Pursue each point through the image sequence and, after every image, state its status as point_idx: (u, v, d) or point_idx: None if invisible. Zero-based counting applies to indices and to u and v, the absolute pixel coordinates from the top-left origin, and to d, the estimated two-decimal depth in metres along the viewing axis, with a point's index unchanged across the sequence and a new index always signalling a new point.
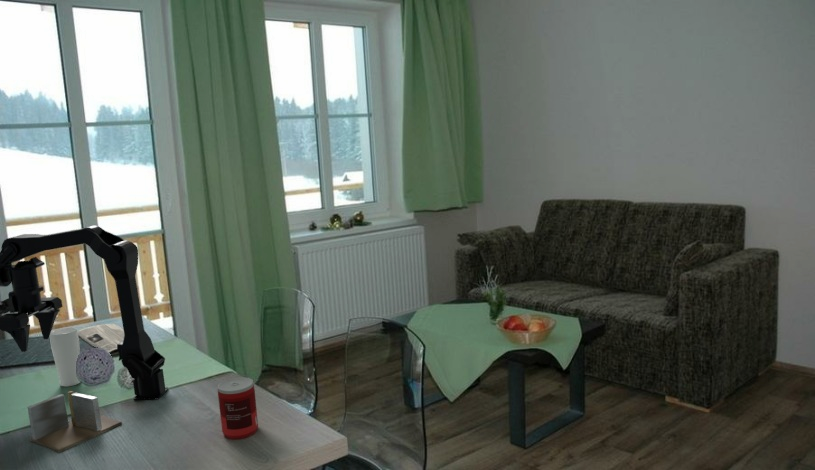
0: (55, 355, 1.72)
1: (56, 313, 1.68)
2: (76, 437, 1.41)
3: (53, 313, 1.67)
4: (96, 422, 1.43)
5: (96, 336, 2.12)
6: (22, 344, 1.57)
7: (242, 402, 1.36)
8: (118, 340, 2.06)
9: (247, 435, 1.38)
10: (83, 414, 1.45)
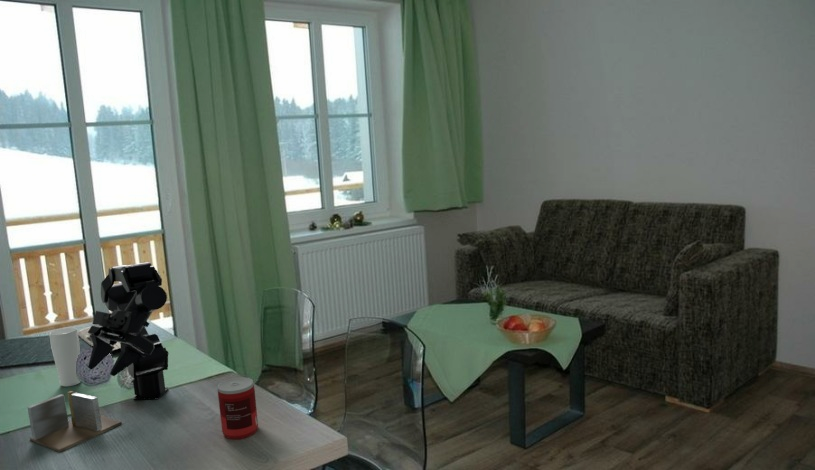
0: (55, 355, 1.72)
1: None
2: (76, 437, 1.41)
3: (113, 348, 1.56)
4: (96, 422, 1.43)
5: None
6: (120, 368, 1.47)
7: (242, 402, 1.36)
8: None
9: (247, 435, 1.38)
10: (83, 414, 1.45)
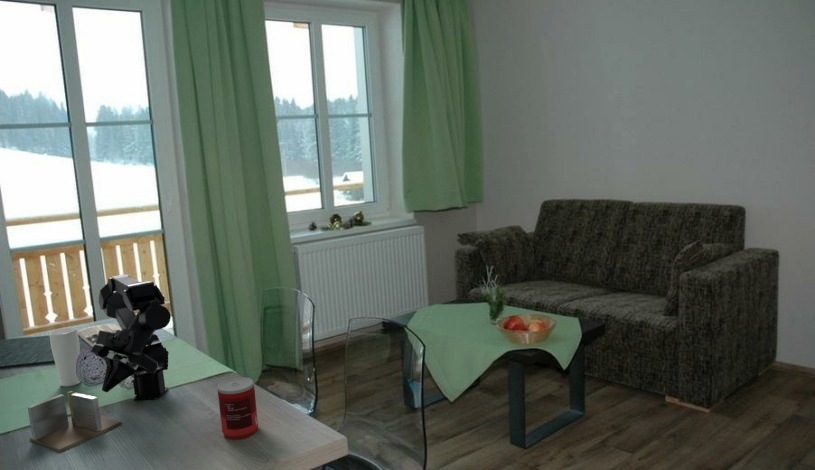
0: (55, 355, 1.72)
1: None
2: (76, 437, 1.41)
3: None
4: (96, 422, 1.43)
5: (95, 336, 2.12)
6: (113, 384, 1.50)
7: (242, 402, 1.36)
8: None
9: (247, 435, 1.38)
10: (83, 414, 1.45)
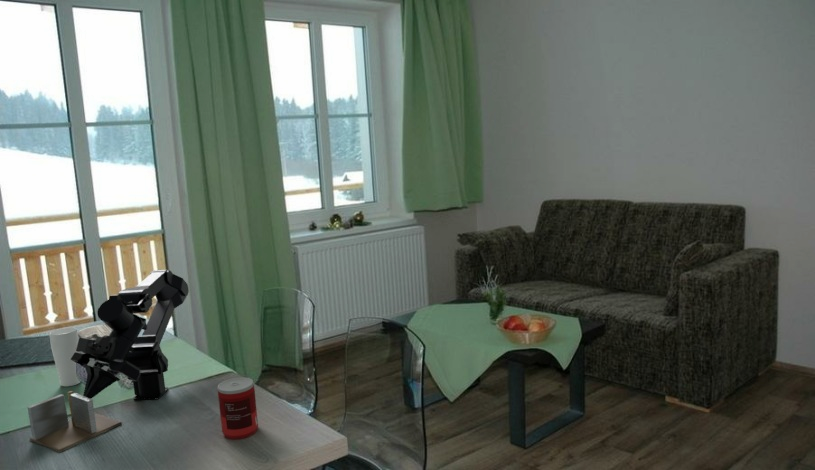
0: (55, 355, 1.72)
1: None
2: (76, 437, 1.41)
3: None
4: (91, 424, 1.42)
5: (94, 336, 2.12)
6: (94, 392, 1.46)
7: (242, 402, 1.36)
8: None
9: (247, 435, 1.38)
10: (80, 415, 1.44)
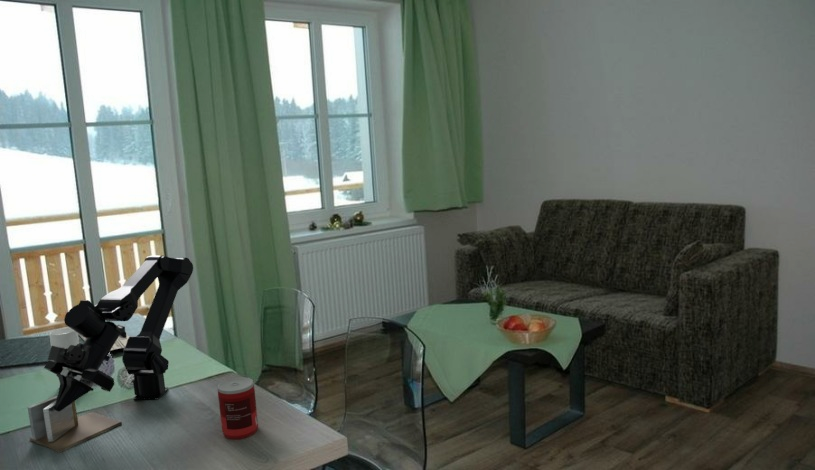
0: None
1: None
2: (76, 437, 1.41)
3: None
4: (47, 433, 1.39)
5: None
6: (66, 403, 1.41)
7: (242, 402, 1.36)
8: None
9: (247, 435, 1.38)
10: None
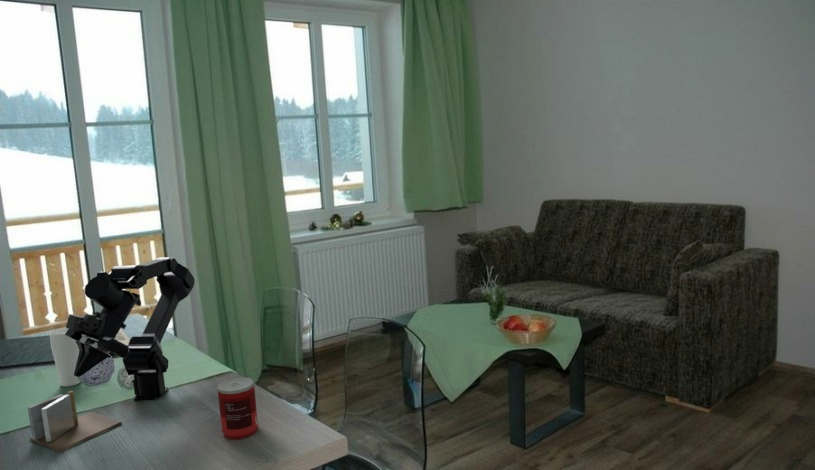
0: (55, 355, 1.72)
1: None
2: (76, 437, 1.41)
3: None
4: (45, 432, 1.39)
5: None
6: (85, 369, 1.46)
7: (242, 402, 1.36)
8: None
9: (247, 435, 1.38)
10: None
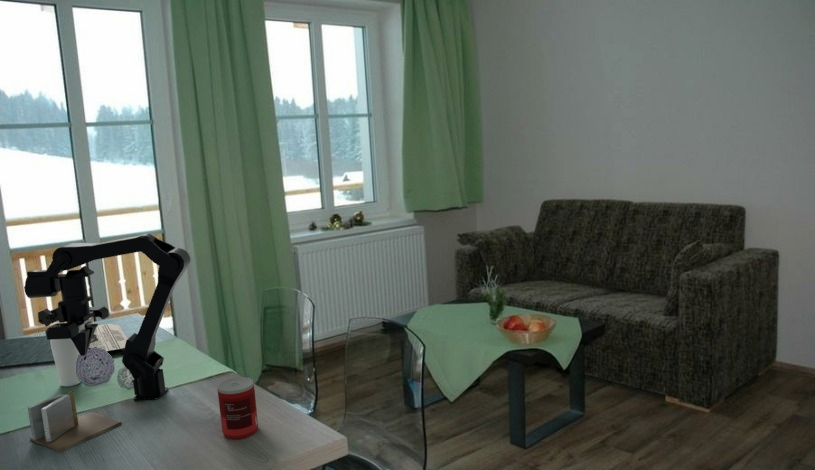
0: (55, 355, 1.72)
1: (94, 328, 1.62)
2: (76, 437, 1.41)
3: (91, 328, 1.61)
4: (45, 432, 1.39)
5: (93, 337, 2.11)
6: (81, 348, 1.60)
7: (242, 402, 1.36)
8: (110, 342, 2.04)
9: (247, 435, 1.38)
10: None
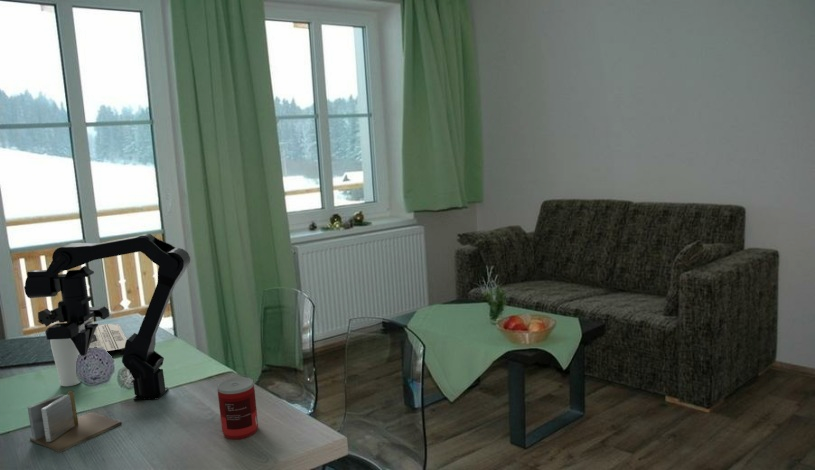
0: (55, 355, 1.72)
1: (94, 328, 1.62)
2: (76, 437, 1.41)
3: (91, 328, 1.61)
4: (45, 432, 1.39)
5: (92, 337, 2.11)
6: (81, 348, 1.60)
7: (242, 402, 1.36)
8: (109, 342, 2.03)
9: (247, 435, 1.38)
10: None
